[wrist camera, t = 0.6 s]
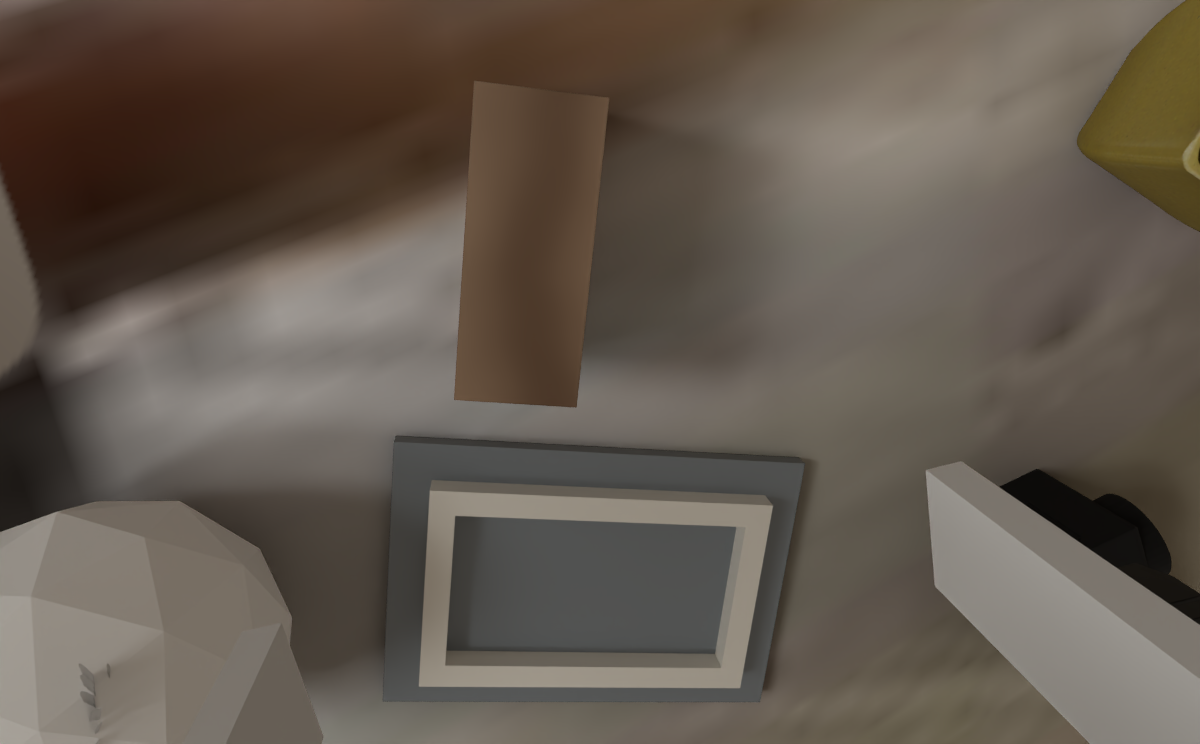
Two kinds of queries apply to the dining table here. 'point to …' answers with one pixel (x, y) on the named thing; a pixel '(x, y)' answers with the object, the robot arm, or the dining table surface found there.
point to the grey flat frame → (583, 572)
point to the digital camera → (1094, 521)
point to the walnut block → (528, 243)
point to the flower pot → (1155, 117)
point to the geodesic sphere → (122, 620)
